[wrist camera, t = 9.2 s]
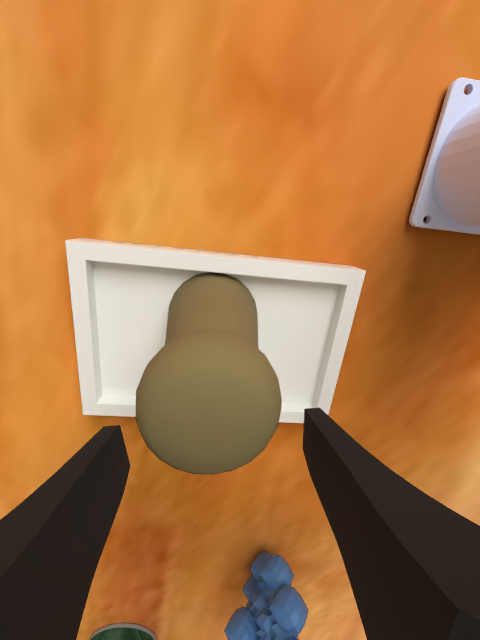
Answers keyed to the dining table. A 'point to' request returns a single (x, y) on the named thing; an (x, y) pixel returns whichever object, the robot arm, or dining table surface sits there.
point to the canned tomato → (123, 632)
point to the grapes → (269, 603)
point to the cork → (209, 381)
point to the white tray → (153, 305)
